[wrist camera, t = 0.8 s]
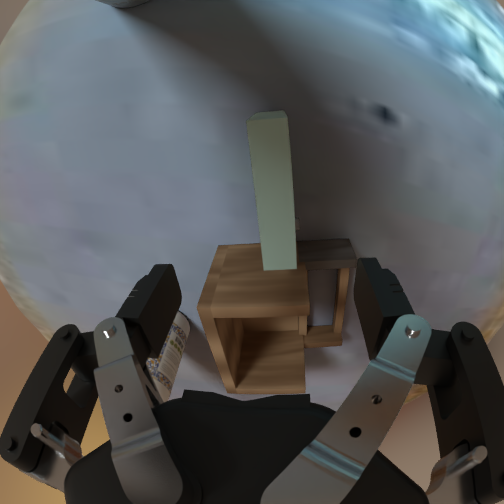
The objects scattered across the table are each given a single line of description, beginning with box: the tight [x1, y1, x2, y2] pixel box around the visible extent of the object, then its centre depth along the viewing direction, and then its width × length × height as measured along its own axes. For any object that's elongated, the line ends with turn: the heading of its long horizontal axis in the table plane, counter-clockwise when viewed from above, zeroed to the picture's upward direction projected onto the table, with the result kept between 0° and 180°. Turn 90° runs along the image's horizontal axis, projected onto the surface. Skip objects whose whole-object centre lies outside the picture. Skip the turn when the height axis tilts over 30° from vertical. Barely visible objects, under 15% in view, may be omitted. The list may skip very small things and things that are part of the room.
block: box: [246, 110, 300, 270], centre depth 22 cm, size 11×3×9 cm, turn 7°
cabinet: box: [197, 239, 357, 394], centre depth 29 cm, size 14×14×10 cm
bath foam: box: [146, 311, 190, 402], centre depth 30 cm, size 7×7×20 cm
